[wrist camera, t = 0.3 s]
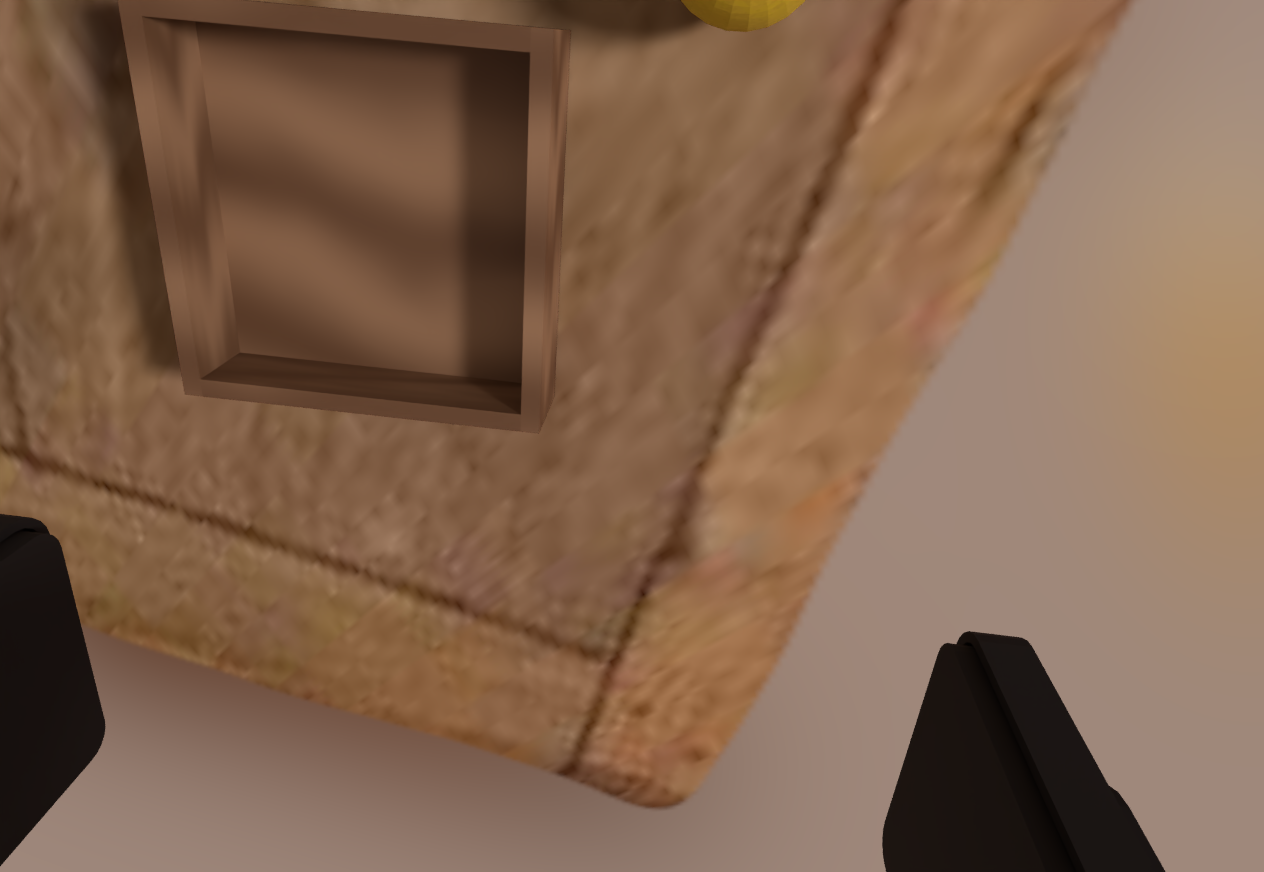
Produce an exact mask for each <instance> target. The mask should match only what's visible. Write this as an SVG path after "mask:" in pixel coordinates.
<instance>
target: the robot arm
mask: <svg viewBox="0 0 1264 872" xmlns="http://www.w3.org/2000/svg"><path fill="white" fill-rule="evenodd" d="M104 734H105V719H104V716H103V712H102V708H101V704H100V700H99V696H98V692H97V687H96V683H95V679H94V676H93V671H92V668H91V663H90V660H89V656H88V652H87V647H86V643H85V639H84V635H83V632H82V627H81V623H80V619H79V615H78V611H77V607H76V603H75V599H74V595H73V591H72V587H71V583H70V579H69V575H68V571H67V567H66V563H65V559H64V555H63V551H62V547H61V545H60V543H59V540H58V539H57V538H55V537H54V536H53V535H50V534H49V531H48V529H47V527H46V526H45V525H44V524H43V523H42V522H41V521H39V520H36V519H34V518H29V517H20V516H12V515H4V514H0V866H1V865H2V864H3V862H4V861H5V860H6V859H7V858H8V857H9V855H10V854H11V853H12V852H13V851H14V850H15V849H16V847H17V846H18V845H19V844H20V843H21V842H22V840H23V839H24V838H25V837H26V836H27V835H28V833H29V832H30V831H31V830H32V829H33V828H34V826H35V825H36V824H37V823H38V822H39V821H40V820H41V818H42V817H43V816H44V815H45V814H46V813H47V811H48V810H49V809H50V808H51V807H52V806H53V805H54V803H55V802H56V801H57V800H58V798H59V797H60V796H61V795H62V794H63V793H64V792H65V790H66V789H67V788H68V787H69V786H70V785H71V784H72V782H73V781H74V780H75V779H76V778H77V777H78V775H79V774H80V773H81V772H82V771H83V770H84V769H85V767H86V766H87V765H88V764H89V763H90V761H91V760H92V759H93V758H94V756H95V755H96V754H97V752H98V750H99V748H100V746H101V744H102V741H103V738H104ZM882 846H883V858H884V864H885V868H886V872H1165V870H1164V868H1163V867H1162V865H1161V863H1160V861H1159V860H1158V858H1157V856H1156V854H1155V853H1154V851H1153V849H1152V847H1151V845H1150V844H1149V842H1148V840H1147V838H1146V836H1145V835H1144V833H1143V831H1142V829H1141V828H1140V826H1139V824H1138V822H1137V820H1136V819H1135V817H1134V815H1133V813H1132V811H1131V810H1130V808H1129V806H1128V805H1127V804H1126V802H1125V801H1124V800H1123V798H1122V797H1121V795H1120V794H1119V793H1118V792H1117V791H1116V790H1114V789H1113V788H1112V787H1110V786H1109V785H1108V784H1107V782H1106V780H1105V778H1104V777H1103V775H1102V773H1101V771H1100V769H1099V767H1098V765H1097V764H1096V762H1095V760H1094V758H1093V756H1092V755H1091V753H1090V751H1089V749H1088V747H1087V745H1086V744H1085V742H1084V740H1083V738H1082V736H1081V735H1080V733H1079V731H1078V729H1077V727H1076V726H1075V724H1074V722H1073V720H1072V718H1071V716H1070V715H1069V713H1068V711H1067V709H1066V707H1065V705H1064V704H1063V702H1062V700H1061V698H1060V696H1059V695H1058V693H1057V691H1056V689H1055V687H1054V686H1053V684H1052V682H1051V680H1050V678H1049V676H1048V675H1047V673H1046V671H1045V669H1044V667H1043V666H1042V664H1041V662H1040V660H1039V658H1038V656H1037V655H1036V653H1035V651H1034V649H1033V648H1032V646H1031V645H1030V643H1029V642H1028V641H1027V640H1025V639H1023V638H1019V637H1012V636H1003V635H995V634H987V633H978V632H970V631H969V632H965V633H963V634H962V635H961V637H960V638H959V640H958V642H957V644H950V643H946V644H944V645H943V646H942V647H941V648H940V651H939V653H938V656H937V659H936V662H935V665H934V668H933V672H932V674H931V678H930V681H929V684H928V687H927V691H926V693H925V697H924V700H923V703H922V706H921V709H920V713H919V716H918V719H917V722H916V725H915V728H914V732H913V735H912V738H911V741H910V744H909V748H908V750H907V754H906V757H905V760H904V763H903V766H902V770H901V772H900V776H899V779H898V782H897V785H896V788H895V792H894V794H893V798H892V801H891V804H890V807H889V810H888V813H887V817H886V820H885V824H884V828H883V843H882Z"/></svg>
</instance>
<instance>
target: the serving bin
mask: <svg viewBox="0 0 1264 872" xmlns="http://www.w3.org/2000/svg"><path fill="white" fill-rule="evenodd" d="M118 6H119V12H120V17H121V23H122V29H123V35H124V41H125V47H126V53H127V58H128V64H129V70H130V76H131V82H132V88H133V94H134V99H135V105H136V111H137V117H138V123H139V129H140V135H141V140H142V146H143V152H144V158H145V164H146V170H147V176H148V181H149V187H150V193H151V199H152V205H153V211H154V217H155V222H156V228H157V234H158V240H159V246H160V252H161V258H162V264H163V269H164V275H165V281H166V287H167V293H168V299H169V305H170V310H171V316H172V322H173V328H174V334H175V340H176V346H177V351H178V357H179V363H180V369H181V375H182V381H183V387H184V392H185V395H194V396H203V397H212V398H221V399H230V400H240V401H249V402H258V403H267V404H276V405H285V406H294V407H303V408H312V409H321V410H330V411H339V412H348V413H357V414H366V415H375V416H384V417H393V418H402V419H412V420H421V421H430V422H439V423H448V424H457V425H466V426H475V427H484V428H493V429H502V430H511V431H520V432H529V433H538V434H539V432H540V430H541V427H542V425H543V423H544V420H545V418H546V416H547V413H548V411H549V409H550V406H551V404H552V401H553V399H554V393H555V371H556V349H557V326H558V304H559V282H560V260H561V237H562V215H563V193H564V170H565V148H566V126H567V104H568V81H569V59H570V37H571V30H562V29H551V28H540V27H529V26H518V25H508V24H497V23H486V22H475V21H464V20H453V19H443V18H432V17H421V16H410V15H399V14H389V13H378V12H367V11H356V10H345V9H334V8H324V7H313V6H302V5H291V4H280V3H270V2H259V1H248V0H118Z"/></svg>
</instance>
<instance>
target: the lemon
mask: <svg viewBox="0 0 1264 872" xmlns="http://www.w3.org/2000/svg"><path fill="white" fill-rule="evenodd" d="M681 1H682V2H683V4H684V5H685V6H686V7H687V9H688V10H689V11H690V12H691V13H693V14H694V15H695V16H697V17H698V18H700V19H701V20H702V21H704V22H705V23H707V24H709V25H712V26H715V27H718V28H721V29H723V30H726V31H742V32H748V31H753V30H757V29H762V28H767V27H769V26H771V25H773V24H775V23H777V22H779V21H781V20H782V19H784V18H786V17H788V16H789V15H790V14H791V13H792V12H793V11H794V10H796V9H797V8H798V7H799V6H800V5H801V4H802V3H804V2H805V0H681Z"/></svg>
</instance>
